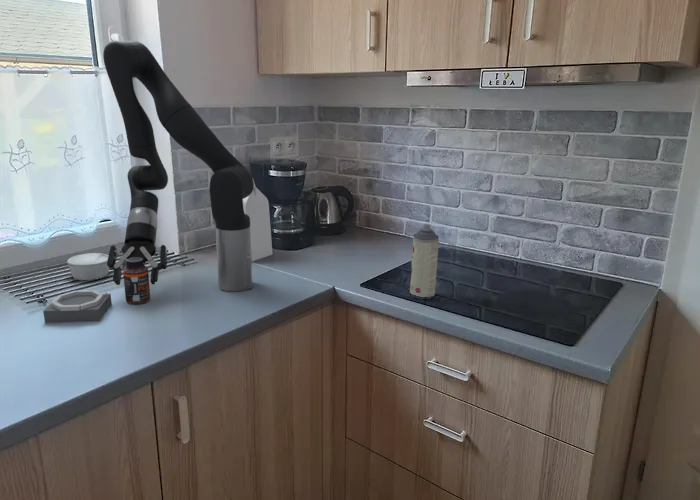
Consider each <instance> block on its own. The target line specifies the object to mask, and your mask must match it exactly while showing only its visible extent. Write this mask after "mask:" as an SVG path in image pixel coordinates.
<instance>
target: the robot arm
mask: <svg viewBox="0 0 700 500" xmlns="http://www.w3.org/2000/svg"><path fill="white" fill-rule="evenodd" d="M102 56H103V57H102V58H103V63H104V64H103V65H104V68H105V71H106V73H107V74H106V75H107V77H108V79H109V82H110V84H111V87H112V91H113V93H114V96H115V100H116V102H117V105H118V107H119V111H120V115H121V116H122V119H123V123H124V128H125V134H126V140H127V145H128V146H127V147H128V150H129V153H130V155H131V157H133V158H137V159H141V160H145V161H146V162H147V163H148V164H147V165H146V164H145V165H134V166H132V167H131V168H130V169H129V170H128V173H127V180H128V186H129V191H130V199H131V200H130V207H129V213H128V217H127V220H126V221H127V222H126V228H125V237H124V243H123V246H122V247H119V246H118V247H117V246H116V245H113V244H112V245H111V246H110V248H109V253H108V255H109V256H108V261H107V266H108V267H109V271H113V275H112V280H113V282H114V284H115V285H117V286H120V285H121V282H122V281H121V279H122V275H123V274H122V273H123V270H124V268H126V266H127V265H126V264H127V263H126V260H127V259H129V258H133V257H140V258H143V262H144V265H145V264H146V263H148V264H149V265H150V267H151V271H150V278H149V283H150V284H151V285H155V284H156V283H157V282H159V281H158V280H159V271H160V270H166V269H167V267H168V249H167V247H166V245H165V244H162V245H161V246H156V239H157V230H158V210H159V198H158V196H157V195H156V194H155V193H153V192H151V191H158V190H159V191H160V190H164V189H165V188H166V187H167V186H168V183H169V177H168V173H167V170H166V168H165V167H164V164H163V162H162V159H161V157H160V155H159V152H158V149H157V146H156V138H155V133H154V128H153V125H152V122H151V119H150V118H149V116H148V114H147V112H146V111H145V110H144V108H143V106H142V105H141V103H140V101H139V99H138V96H137V95H136V91H135V87H134V81H133V79H137V80H138V81H139V82H140V83H141V84H142V85H143V86H144V87H145V89H146V90H147V91H148V92H149V93H150V95H151V97H152V98H153V102H154V107H155V111H156V115H157V117H158V121H159V122H160V124H161V126H162V127H163V128H164V130H165V131H166V132H167V133H168V134H169V136H171V138H172V139H173V140H174V141H175V142H176V143H177V144H178V145H179V146H181V147H182V148H183V149H184V150H185V151H187V152H189V153H191V154H192V155H193V156H195V157H196V158H198V159H199V160H201V161H202V162H203V163H205V165H206V166H208V167H209V169H210V170H211V171H212V172H213V174H212V175H211V177H210V180H209V199H210V200H209V201H210V209H211V215H212V218H213V220H214V225H215V241H216V243H215V244H216V259H217V260H216V262H217V281H218V288H219V289H220V290H221V291H226V292H242V291H245V290H249V289H250V290H251V289H252V288H253V261H252V251H251V234H250V217H249V216H248V215H247V214H245V213H244V209H243V199H244V198H246V197H248V196H249V195H250V194H251V193H252V191H253V188H254V183H255V181H254V182H253V180H254V178H253V176H252V174H251V173H250V171H249V170H248V169H247V168H246V166H244V165H243V164H242V163H241V162H240V161H239V160H238V158H236V157H235V156H234V155H233V154H232V153H231V152H230V151H229V150H228V148H226V146H225V145H223V143H222V142H221V141H220V140H219V138H218V137H217V135H215V133H214V132H213V131H212V130H211V128H210V127H209V126H208V125H207V124H206V123H205V120H203V118H202V117H201V115H200V114H199V113H198V112H197V111H196V110H195V108H194V107H193V106H192V105H191V104H190V103H189V102H188V100H187V99H186V98H185V97H184V95H182V93H181V92H180V90H179V88H177V87H176V85H175V84H174V83H173V82H172V80H171V79H169V77H168V75H167V74H166V72H165V71H164V69H163V68H162V66H161V65H160V63H159V62H158V60H157V59H156V58H155V56H154V54H153V53H152V52H151V50H149V48H148V47H147V46H146V45H145V44H144V43H142V42H140V41H137V40H112V41H109V42H107V44H105V46H104V48H103V53H102ZM121 253H122V254H123V255H121V257H120V258H119V259H118V261H117V257H119V256H120V254H121ZM156 253H157V254H158V255H159V256H160V259H159V263H157V262H156V261H155V259H154V258H153V257H154V256H155V255H156Z"/></svg>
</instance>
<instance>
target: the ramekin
mask: <svg viewBox="0 0 700 500" xmlns="http://www.w3.org/2000/svg"><path fill="white" fill-rule="evenodd" d="M108 256H109V254H106V253H100V252H91V253H89V252H88V253H83V254H77V255H73V256H71V257H70V258H68V259H67V260H66V261H67V262H66V263H67V266H68V267H69V271H70V273H71V277H73V278H74V279H75V280H77V279H78V280H77V281H83V280H88V281H93V280H92V279H96V280H98V279H97V278H100V279H102V278H101V277H103V278H105V277H107V275H108V274H109V272H110V269H109V267H108V266H107V261H108ZM104 276H105V277H104Z"/></svg>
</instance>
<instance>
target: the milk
mask: <svg viewBox="0 0 700 500" xmlns="http://www.w3.org/2000/svg"><path fill="white" fill-rule="evenodd" d="M253 182H254V188H253V191H252V193H251V194H250V195H249V196H248V197H246V198H244V199H243V209H244V213H245V214H247V215H248V216H249V217H250V234H251V251H252V262H254V261H257V260H260V259H264V258H266V257H269V256H272V255H273V245H272V244H273V243H272V241H273V240H272V230H271V217H270V203H269V199H268V198H267V196H266V195H265V194H263V193H262V192H261V191H260V189H258V187H256V184H255V181H254V179H253Z"/></svg>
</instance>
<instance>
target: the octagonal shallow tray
mask: <svg viewBox="0 0 700 500" xmlns="http://www.w3.org/2000/svg"><path fill="white" fill-rule="evenodd" d="M112 305H113V304H112V295H111V293H108V292H106V291H103V292H100V291H98V290H95V289H86V290H85V289H81V290H80V289H78V290H72V291H69V292H66V293H63V294H59V295H57V296H56V297H54V299H53V300H52V301H51V302H50V304H49V305H48V306H47V307H46V308H45V309H44V310H43V312H42V313H43V318H44V324H56V323H57V324H58V323H59V324H60V323H61V324H62V323H84V322H86V323H87V322H101V320H102V319H103V318H104V316H105V315H106V313H107V312H108V310H109V309H110V308H111V306H112Z"/></svg>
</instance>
